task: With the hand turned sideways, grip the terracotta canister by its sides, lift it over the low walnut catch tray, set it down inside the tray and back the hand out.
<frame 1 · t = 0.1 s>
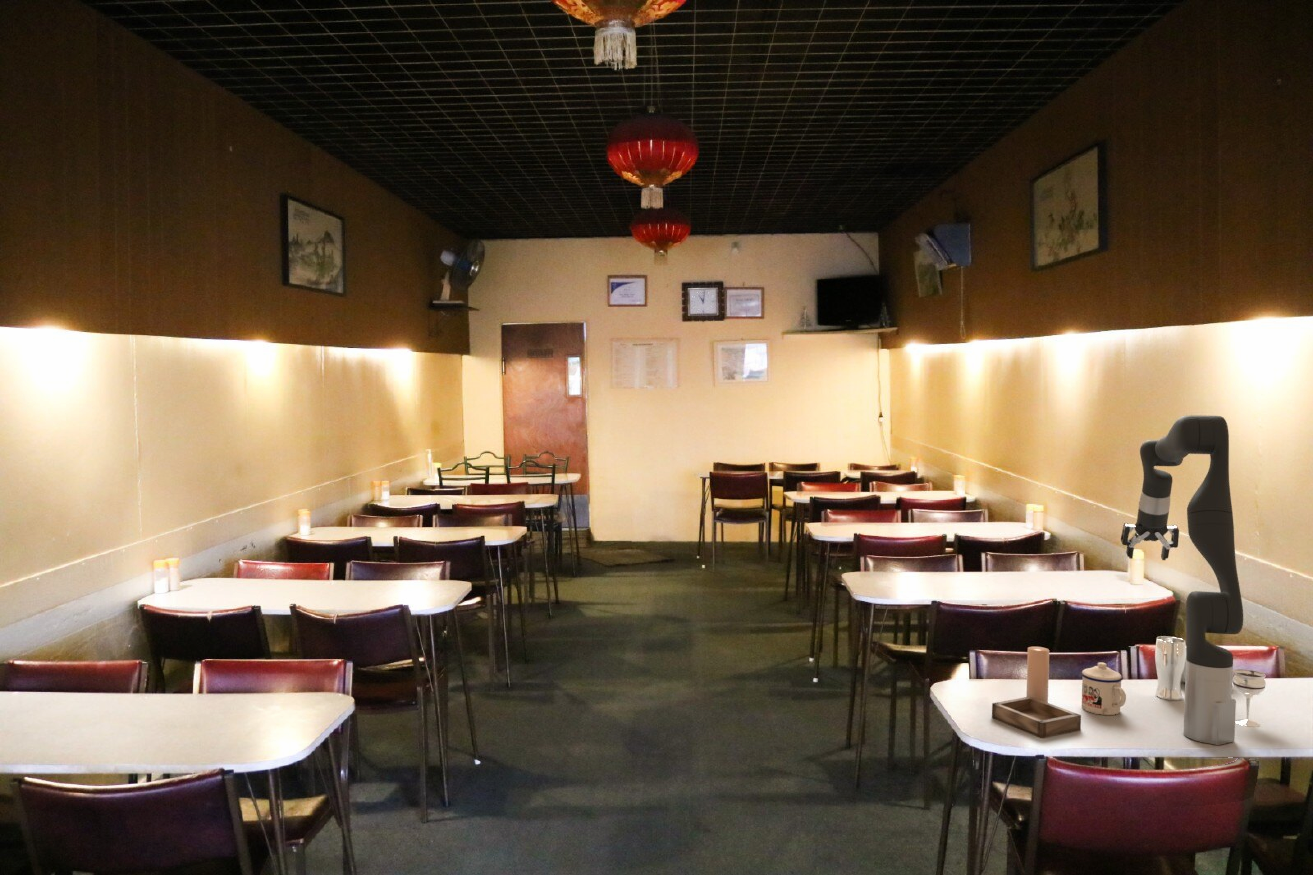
hand: (1146, 558, 272), 31 cm above the table, tool tilted 20°, fingers open, 8 cm apart
beer glass: (1168, 697, 248), on the table
canister: (1036, 704, 241), on the table
wineglass: (1247, 724, 229), on the table
cereal bowl: (1191, 681, 263), on the table
catch tray: (1035, 723, 227), on the table
teacup with lid: (1105, 712, 236), on the table
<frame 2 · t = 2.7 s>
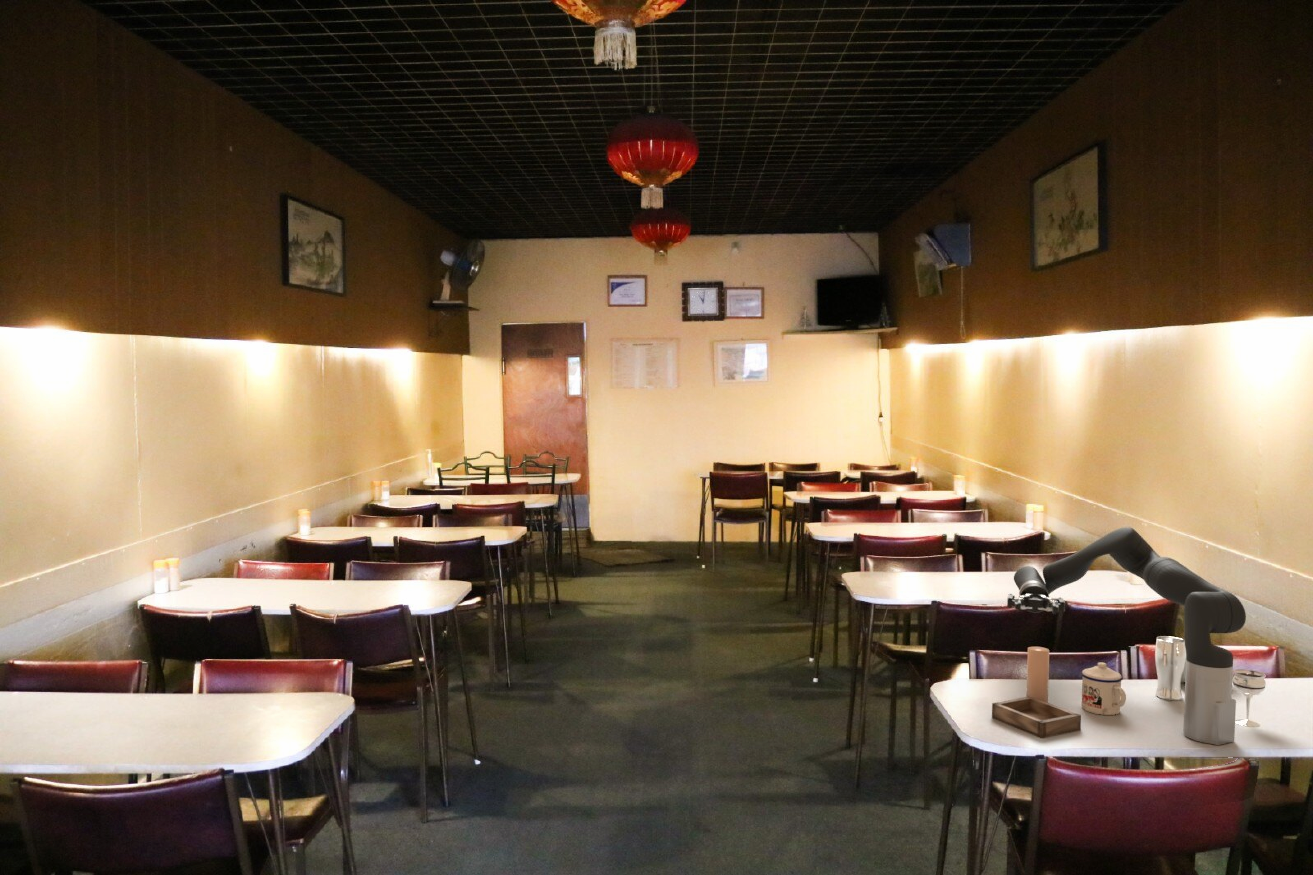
hand: (1036, 608, 250), 22 cm above the table, tool horizontal, fingers open, 8 cm apart
nothing on the table moved.
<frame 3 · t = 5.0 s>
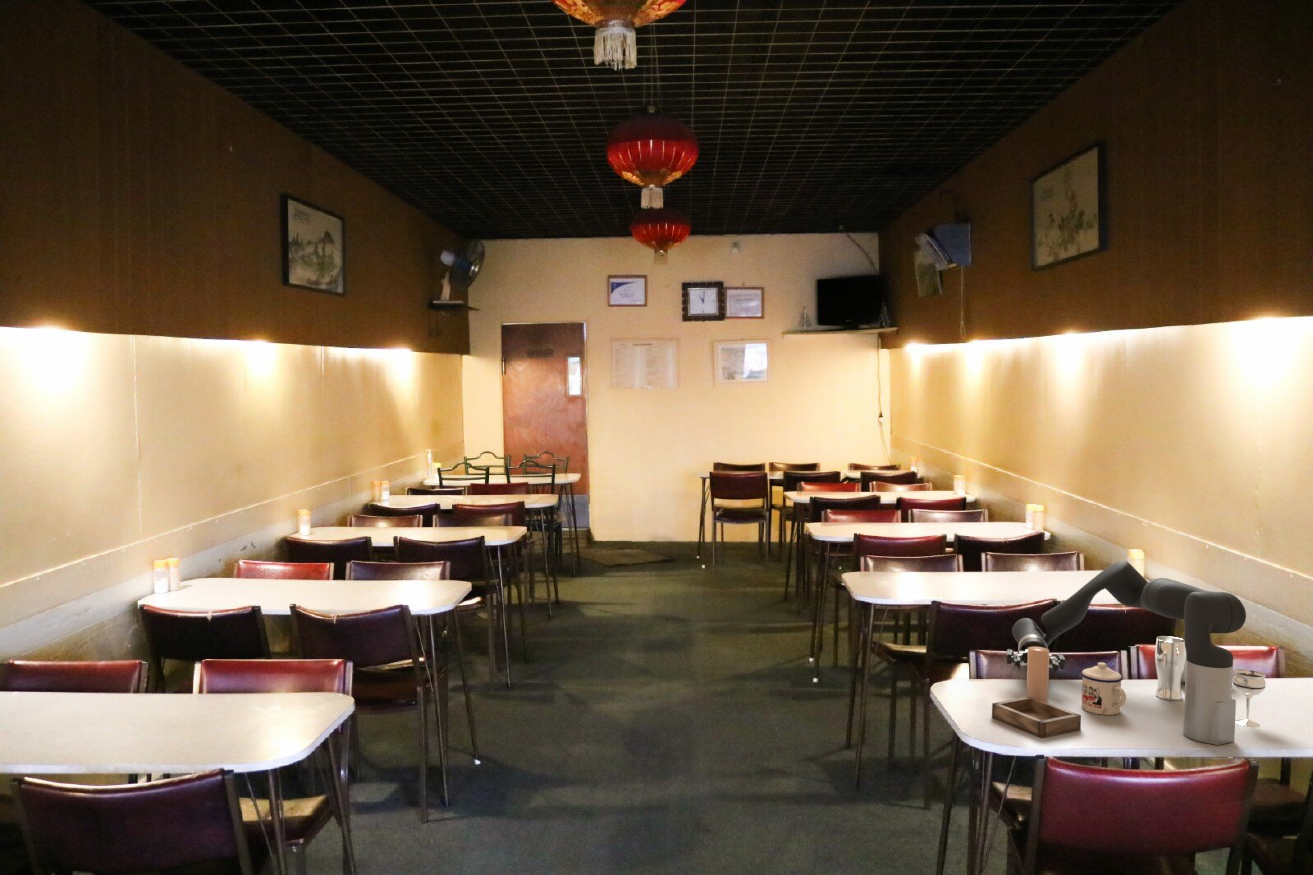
hand: (1036, 666, 247), 8 cm above the table, tool horizontal, fingers open, 8 cm apart
nothing on the table moved.
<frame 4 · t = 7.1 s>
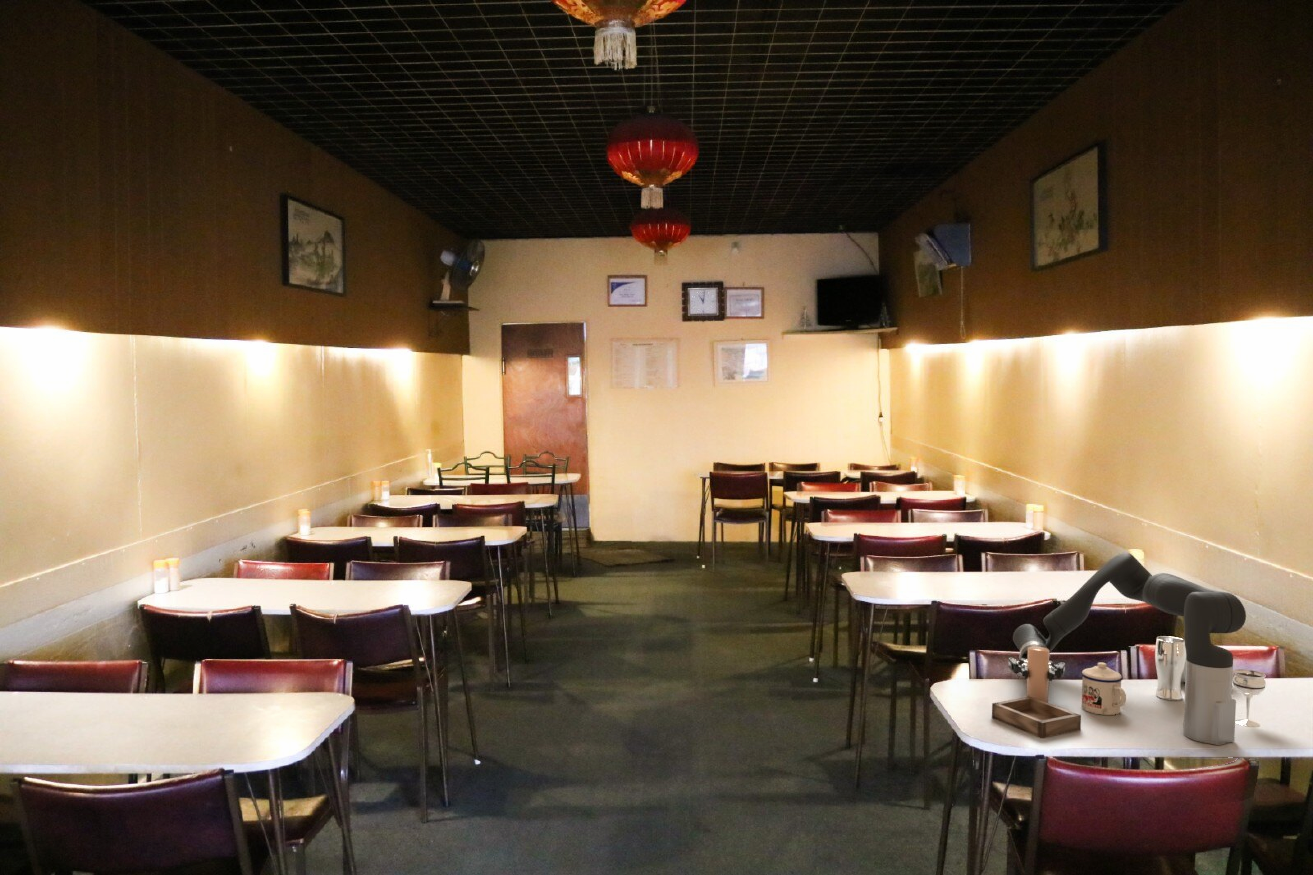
hand: (1038, 675, 238), 8 cm above the table, tool horizontal, fingers closed on canister, 5 cm apart
canister: (1037, 704, 241), on the table, touching gripper
everything else where it was.
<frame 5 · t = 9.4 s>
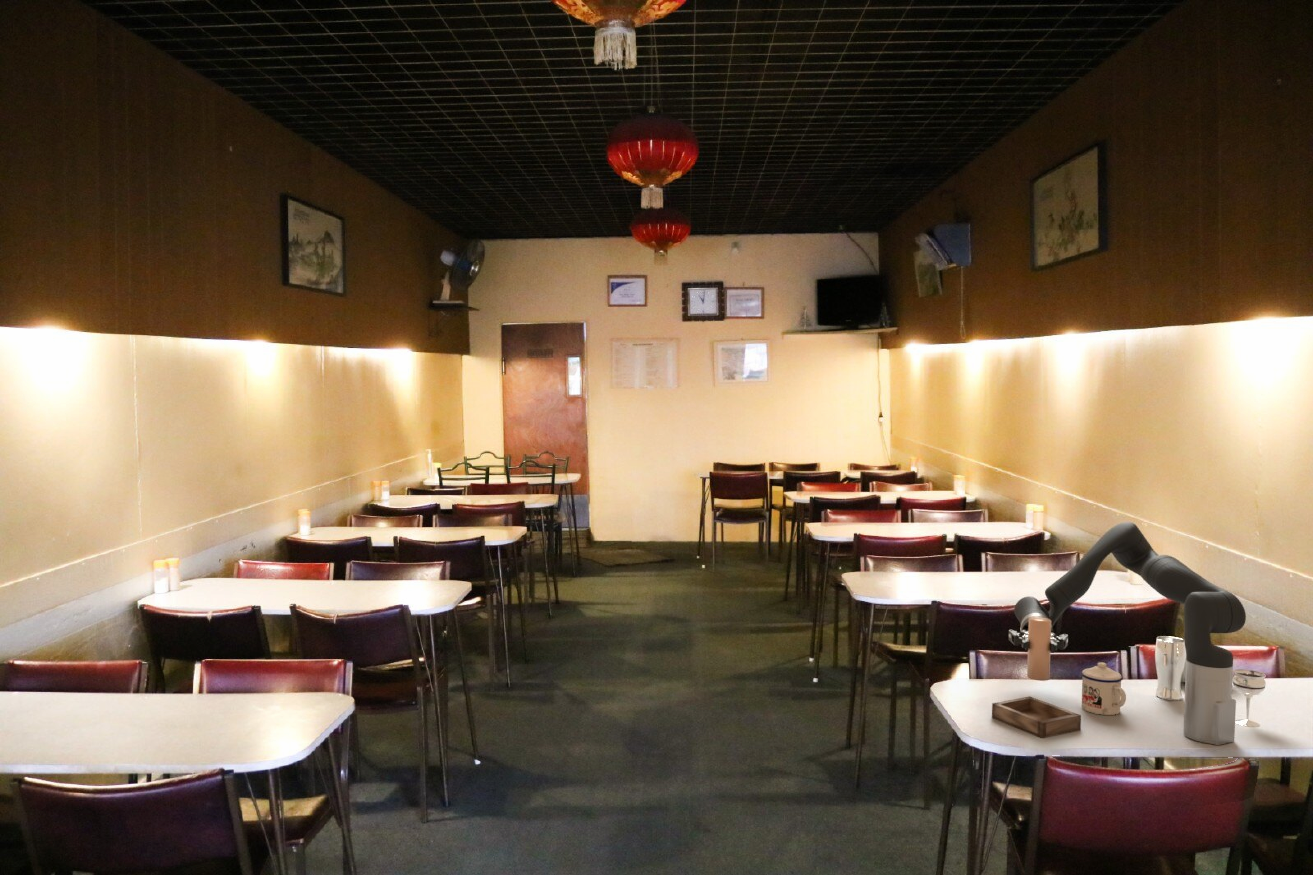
hand: (1039, 647, 228), 18 cm above the table, tool horizontal, fingers closed on canister, 5 cm apart
canister: (1038, 677, 231), point 10 cm above the table, touching gripper
everything else where it was.
when the fingers open (10 cm above the table, at t = 11.8 s): canister drops 1 cm, resting on catch tray.
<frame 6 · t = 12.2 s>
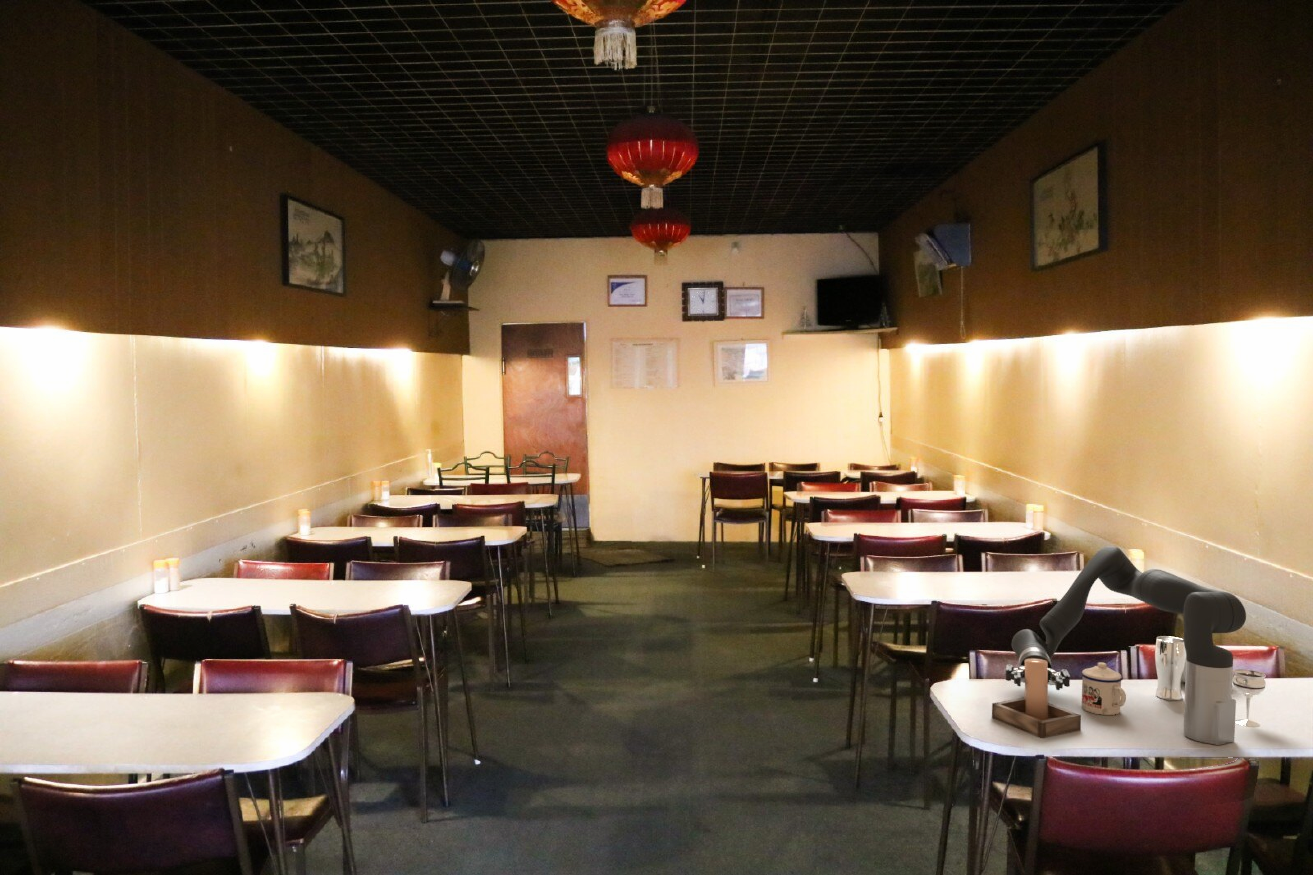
hand: (1038, 684, 225), 10 cm above the table, tool horizontal, fingers open, 8 cm apart
canister: (1036, 720, 227), point 1 cm above the table, touching catch tray
everything else where it was.
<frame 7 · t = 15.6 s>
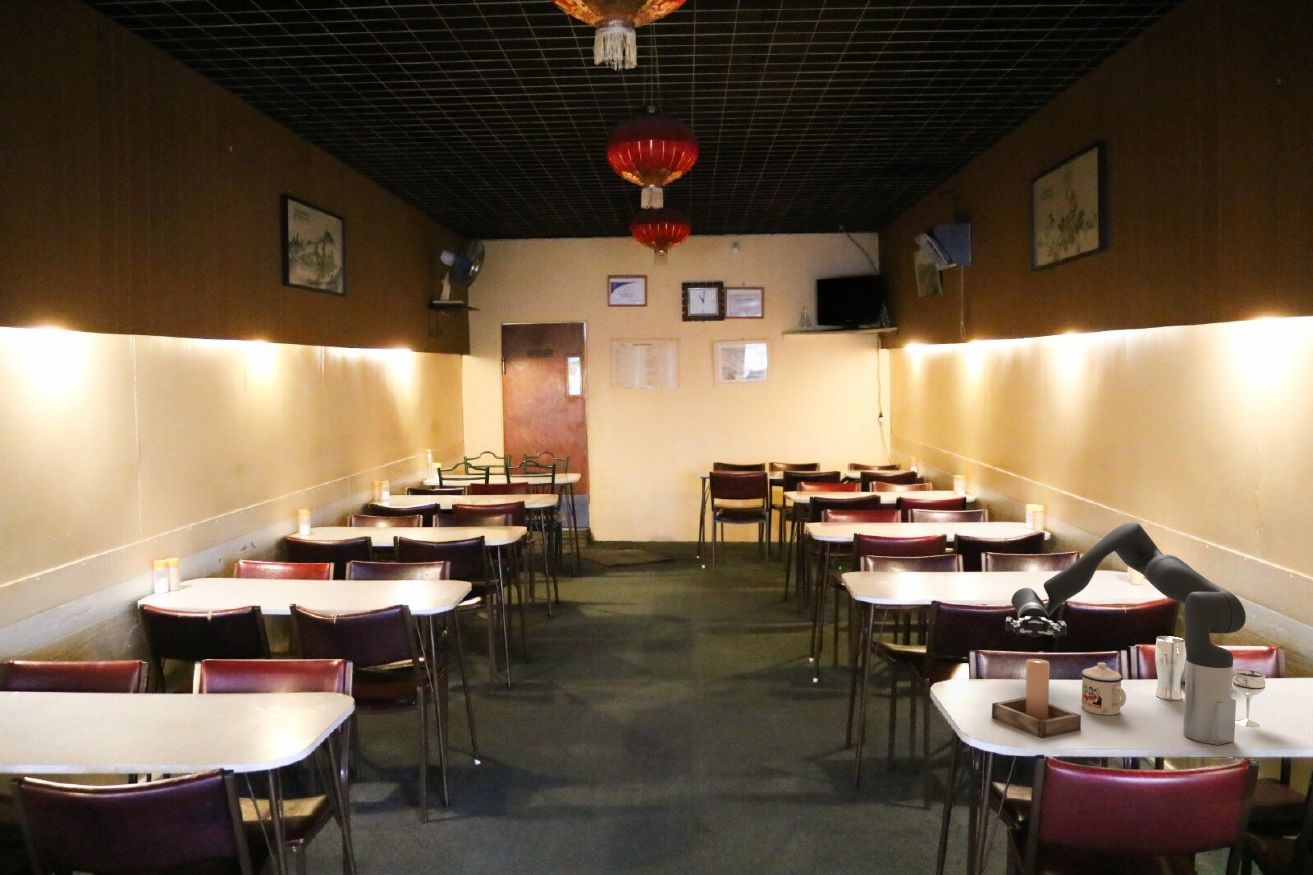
hand: (1037, 632, 236), 19 cm above the table, tool horizontal, fingers open, 8 cm apart
nothing on the table moved.
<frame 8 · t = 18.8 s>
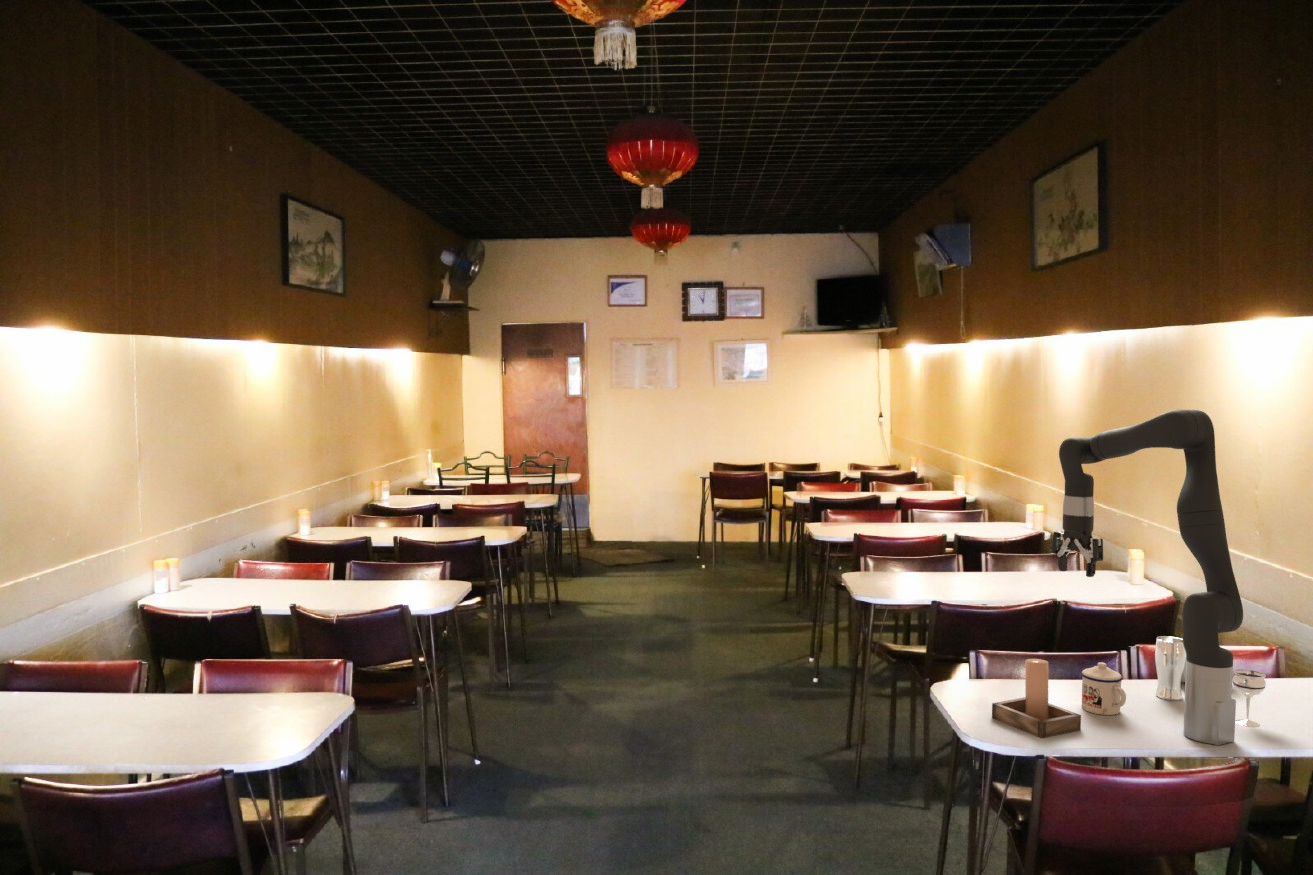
hand: (1076, 573, 255), 30 cm above the table, tool pointing down, fingers open, 8 cm apart
nothing on the table moved.
at the end: canister inside the target area on the catch tray (0.5 cm from its centre), point 0.7 cm above the catch tray's base; canister tilted 2°; the gripper is holding nothing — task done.
